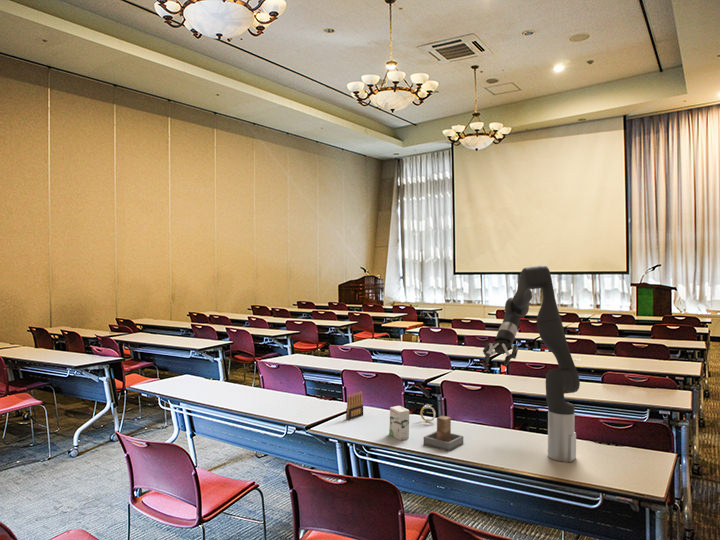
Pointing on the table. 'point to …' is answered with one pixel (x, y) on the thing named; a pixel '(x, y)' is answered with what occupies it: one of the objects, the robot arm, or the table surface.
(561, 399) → the robot arm
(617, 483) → the table surface
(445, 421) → the walnut block
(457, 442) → the desk tray
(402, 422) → the ink box
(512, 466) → the table surface
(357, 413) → the ammunition clip
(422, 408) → the ring
